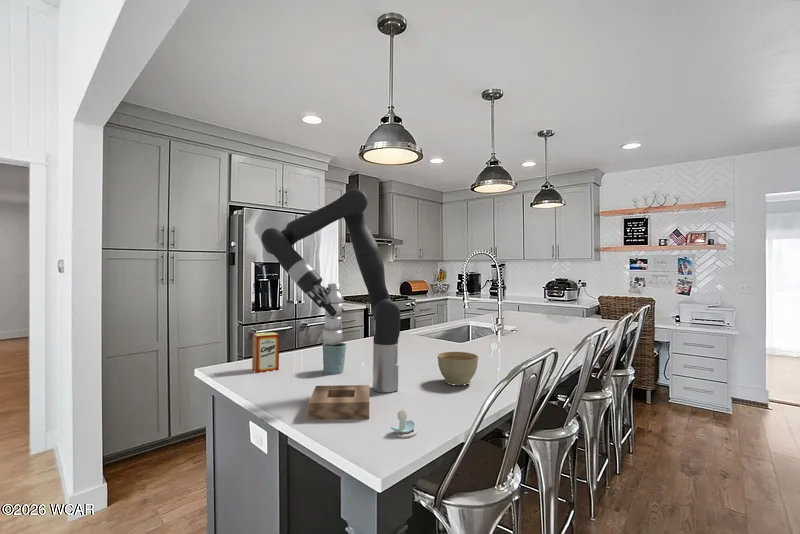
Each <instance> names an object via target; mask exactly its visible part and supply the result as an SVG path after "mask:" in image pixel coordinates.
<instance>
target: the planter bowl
mask: <svg viewBox="0 0 800 534" xmlns="http://www.w3.org/2000/svg"><path fill="white" fill-rule="evenodd" d="M478 361H479V355H477V354H476V353H471V352H468V351H467V352H465V351H444V352H443V351H442V352H440V353H438V354H437V363H438V368H439V371H440V374H441V375H442V377H443V378H444V380H445V383H446V382H447V383H450V384H455V385H454V386H456V385H463V386H465V385H464V384H468V383H469V384H470V383H471V380H472V378H473V377H474V376H475V373H476V371H477V368H478ZM447 383H446V384H447ZM450 384H449V385H450ZM469 384H468V385H469Z"/></svg>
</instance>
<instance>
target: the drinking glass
mask: <svg viewBox="0 0 800 534" xmlns="http://www.w3.org/2000/svg"><path fill="white" fill-rule="evenodd" d="M346 349H347V344H346V343H345V342H341V343H340V344H335V345H330V344H325V343H322V360H323V361H322V365H323V368H322V371H323V373H324V374H325V373H326V374H325V375H332V374H333V375H340V374H342V373H344V369H345V359H346Z"/></svg>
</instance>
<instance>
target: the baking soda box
mask: <svg viewBox="0 0 800 534" xmlns="http://www.w3.org/2000/svg"><path fill="white" fill-rule="evenodd" d="M251 358H252V362H251V365H252V366H251V367H252V369H251V370H252V371H253V372H254V371H255V372H256V373H255V372H254V373H255V374H260V372H262V373H268V372H267V371H269V372H274V371H273V370H276V371H279V370H280V369H279V368H280V365H279V364H280V363H279V362H280V334H279V333H277V332H258V333H252V357H251Z"/></svg>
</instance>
